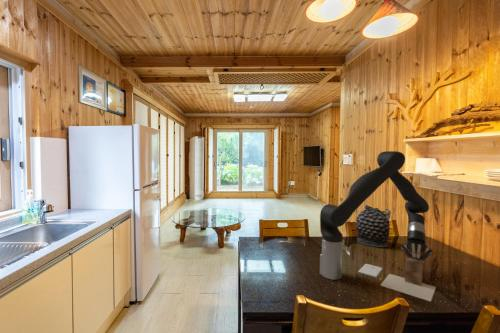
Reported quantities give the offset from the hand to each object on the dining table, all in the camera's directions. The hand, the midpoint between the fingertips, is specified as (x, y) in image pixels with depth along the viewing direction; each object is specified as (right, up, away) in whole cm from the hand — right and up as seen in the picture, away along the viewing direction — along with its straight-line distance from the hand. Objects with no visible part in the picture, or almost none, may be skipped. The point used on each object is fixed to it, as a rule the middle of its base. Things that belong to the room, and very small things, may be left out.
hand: (415, 266), depth 116 cm
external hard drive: (-17, -6, +8) cm, 20 cm away
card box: (-3, -6, -3) cm, 7 cm away
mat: (-8, -6, -7) cm, 12 cm away
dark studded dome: (+3, -5, +48) cm, 49 cm away
